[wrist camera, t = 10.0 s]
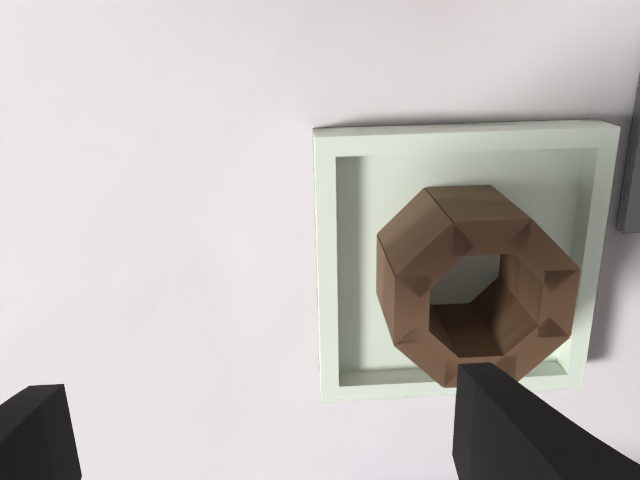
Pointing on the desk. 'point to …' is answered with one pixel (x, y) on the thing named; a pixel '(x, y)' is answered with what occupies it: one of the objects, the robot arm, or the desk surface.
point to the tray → (472, 271)
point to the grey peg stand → (631, 178)
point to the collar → (492, 303)
